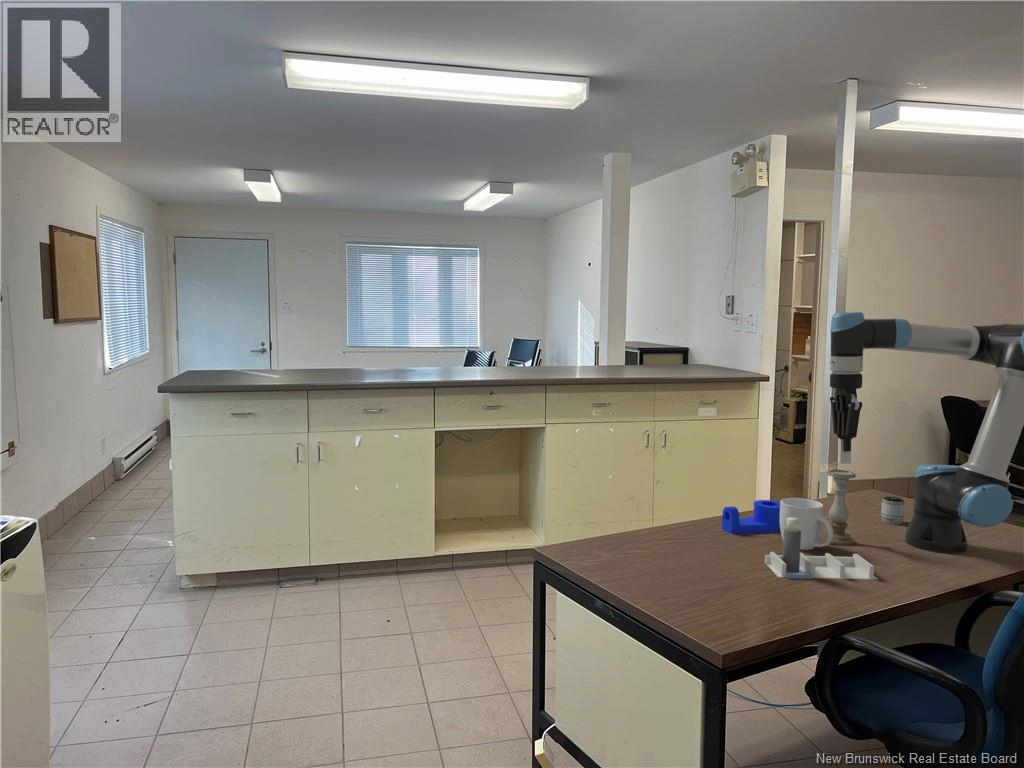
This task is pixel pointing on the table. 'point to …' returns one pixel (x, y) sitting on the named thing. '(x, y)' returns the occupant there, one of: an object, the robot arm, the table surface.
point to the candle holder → (840, 509)
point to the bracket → (753, 518)
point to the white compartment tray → (823, 567)
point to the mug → (805, 521)
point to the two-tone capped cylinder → (792, 545)
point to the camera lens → (892, 510)
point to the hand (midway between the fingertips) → (844, 462)
